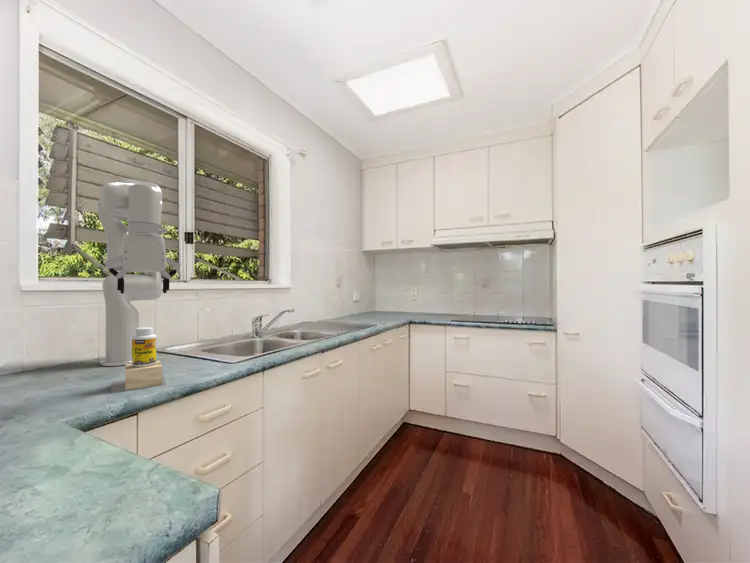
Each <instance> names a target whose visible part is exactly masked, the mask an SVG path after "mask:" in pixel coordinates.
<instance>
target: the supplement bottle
mask: <svg viewBox="0 0 750 563" xmlns="http://www.w3.org/2000/svg"><path fill="white" fill-rule="evenodd" d="M135 333H136V335H135V336H133V337H132V366H134V367H146V366H151V365H154V364H155V363H156V361H157V335H156V334H154V327H151V326H150V327H149V326H147V327H146V326H145V327H143V326H142V327H139V328H136V332H135Z"/></svg>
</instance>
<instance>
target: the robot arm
mask: <svg viewBox="0 0 750 563" xmlns="http://www.w3.org/2000/svg"><path fill="white" fill-rule="evenodd" d="M96 205H97V207H96V208H97V210H96V211H97V215H98V218H99V222H100V224H101V226H102V228H103V230H104V233H105V238H106V255H107V256H106V260H105V261H104V262H103V264H104V265H105V267H106V269H107V270H108V272H109V273H110V274H111V275H108V276H107V277H105V278H104V279H103V281H102V292H103V296H104V297H103V299H104V304H105V307H104V308H105V355H104V356H105V358H104V359H101V360H100V361H99V365H100V366H102V367H117V366H126V364H132V337H133V336H135V335H136V333H135V332H136V328H140V327H139V326H140V325H139V324H140V322H139V320H140V317H139V314H140V313H139V311H138V309H137V308H136V307H135V306H134V305H133V304H132V303H131V302H133V301H154V300H158V299H159V298H160V297H161V295H162V293H163V294H167V291H170V279H171V278H173V276H175V275H176V274H177V272H178V271H179V269H180V268H181V263H179V262H178V261H175V260H173V259H171V258H169V257H167V254H166V253H167V252H166V251H167V250H166V244H165V242H166V241H165V239H164V238H165V237H163V236H162V235H163V234H167V233H168V228H164V227H162V212H163V208H164V207H163V206H164V205H163V192H162V189H161V188H160V186H159V185H158V184H157V183H154V182H149V181H144V180H138V179H133V178H125V177H122V178H117V179H116V180H114V181H113V182H106V183H104V184H103V185H102V187H101V189H100V192H99V199H98V201H97V203H96ZM122 221H123V222H122ZM124 222H127V224H126V223H124ZM167 264H169V265H171V266H173V267H172V270H170V271H169V272H167V270H166V269H167ZM128 273H133V274H128ZM135 273H143V274H135ZM162 276H163V279H162Z"/></svg>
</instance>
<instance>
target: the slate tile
mask: <svg viewBox="0 0 750 563" xmlns="http://www.w3.org/2000/svg"><path fill="white" fill-rule="evenodd" d="M162 386H167V382H166V379H165V376H164V375H163V374H162V385H156V386H149V387H142V388H136V389H129V390H126V379H124V380H117V381H112V383H111V387H110V394H115V393H117V394H118V393H124V392H129V391H135V390H143V389H149V388H156V387H162Z"/></svg>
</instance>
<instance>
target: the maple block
mask: <svg viewBox="0 0 750 563" xmlns="http://www.w3.org/2000/svg"><path fill="white" fill-rule="evenodd" d="M162 375H163V365H162V363H161V360H156V363H155V364H154V365H151V366H146V367H134V366H132V364H126V365H125V380H126V390H129V389H136V388H142V387H149V386H156V385H162Z"/></svg>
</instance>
